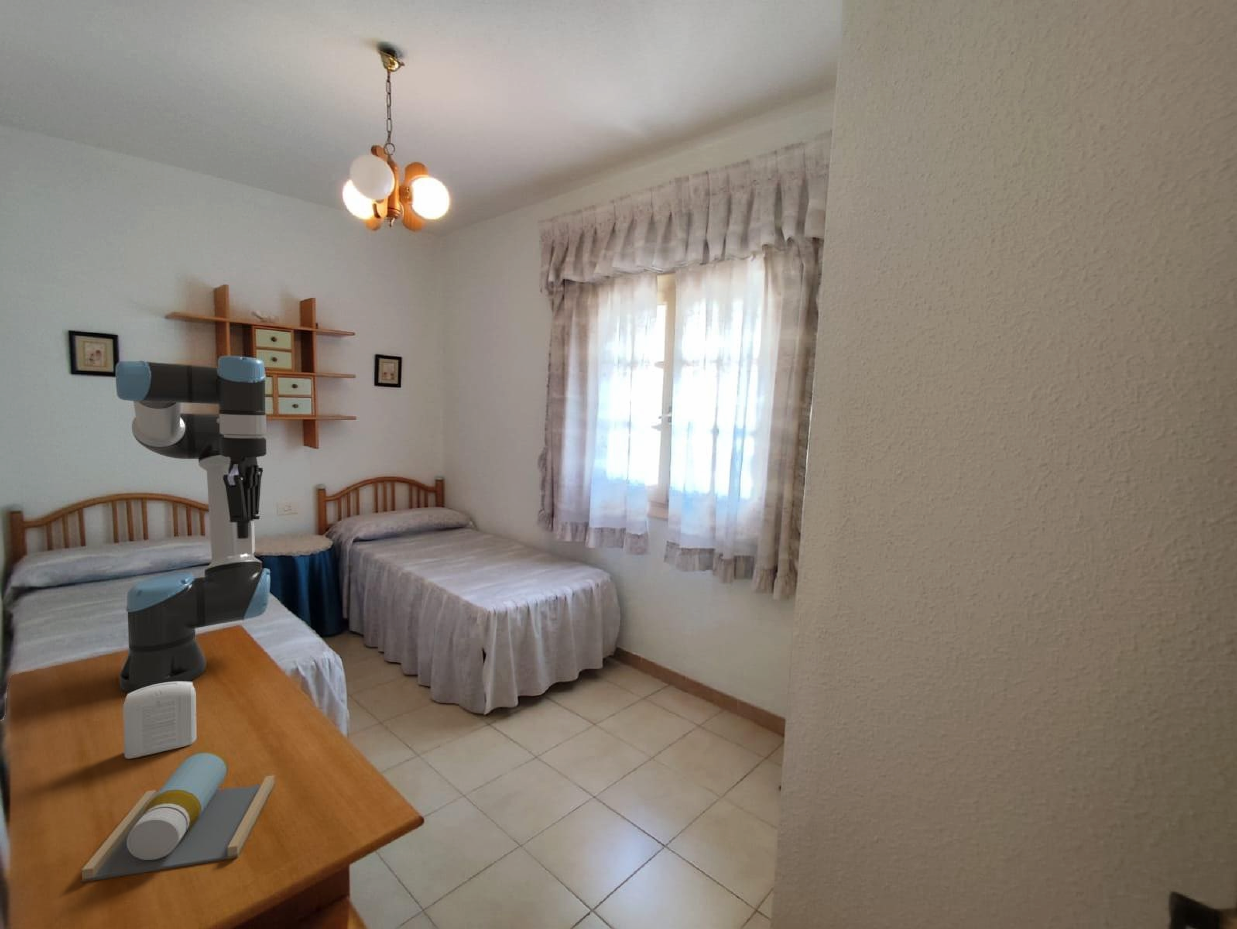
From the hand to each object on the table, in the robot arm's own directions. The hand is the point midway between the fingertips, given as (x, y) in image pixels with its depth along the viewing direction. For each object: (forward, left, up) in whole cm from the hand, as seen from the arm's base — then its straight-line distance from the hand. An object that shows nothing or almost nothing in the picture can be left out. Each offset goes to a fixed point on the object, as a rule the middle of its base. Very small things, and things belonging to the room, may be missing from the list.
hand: (245, 552), depth 106 cm
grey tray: (+32, +3, -34) cm, 47 cm away
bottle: (+23, +2, -31) cm, 38 cm away
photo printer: (+9, -11, -35) cm, 37 cm away
